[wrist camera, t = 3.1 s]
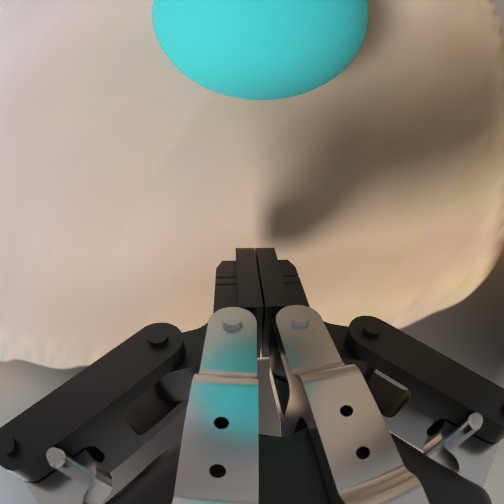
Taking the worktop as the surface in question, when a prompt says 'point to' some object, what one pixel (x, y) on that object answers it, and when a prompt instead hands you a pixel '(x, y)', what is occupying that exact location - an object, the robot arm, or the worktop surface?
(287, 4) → the ball
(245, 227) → the worktop surface
